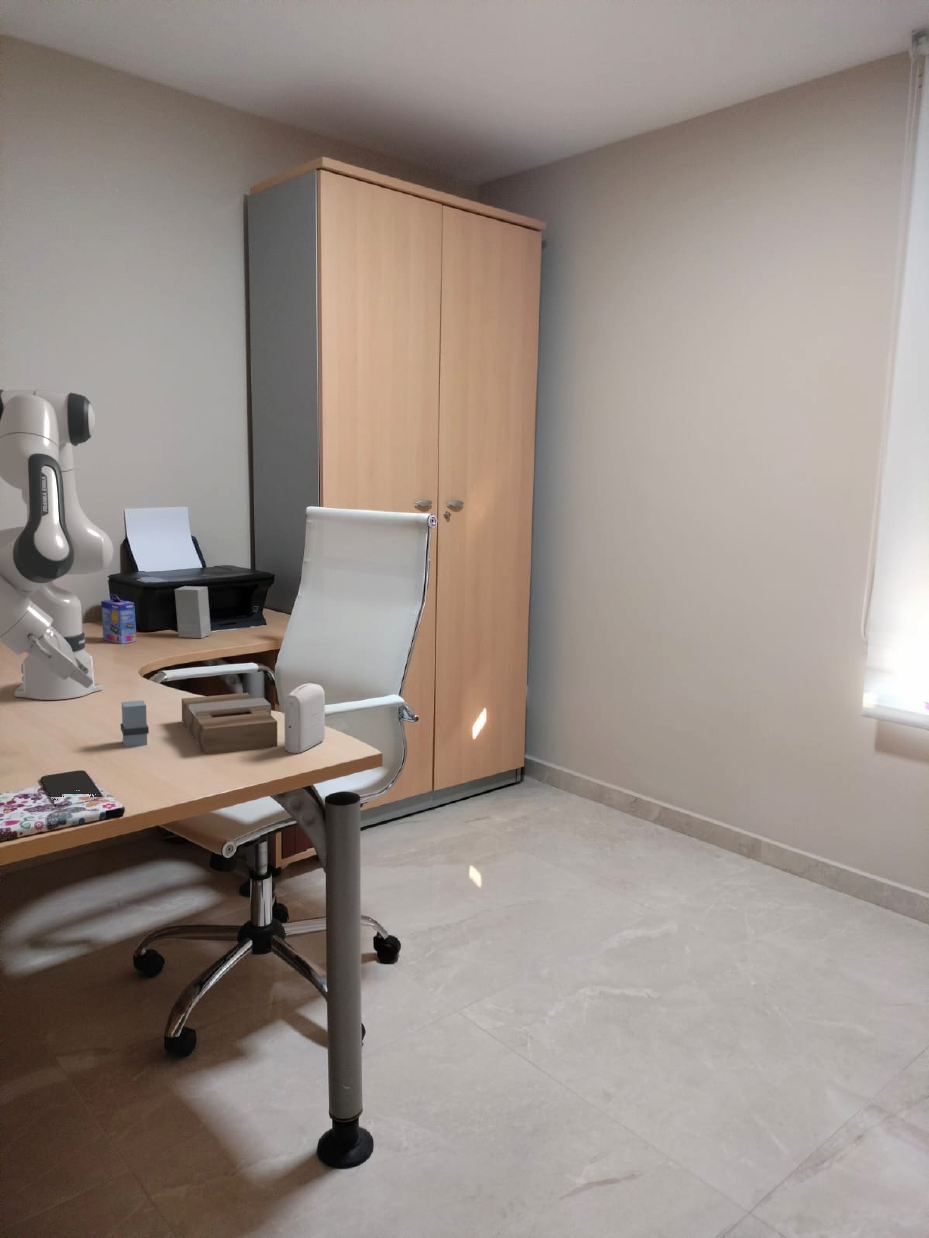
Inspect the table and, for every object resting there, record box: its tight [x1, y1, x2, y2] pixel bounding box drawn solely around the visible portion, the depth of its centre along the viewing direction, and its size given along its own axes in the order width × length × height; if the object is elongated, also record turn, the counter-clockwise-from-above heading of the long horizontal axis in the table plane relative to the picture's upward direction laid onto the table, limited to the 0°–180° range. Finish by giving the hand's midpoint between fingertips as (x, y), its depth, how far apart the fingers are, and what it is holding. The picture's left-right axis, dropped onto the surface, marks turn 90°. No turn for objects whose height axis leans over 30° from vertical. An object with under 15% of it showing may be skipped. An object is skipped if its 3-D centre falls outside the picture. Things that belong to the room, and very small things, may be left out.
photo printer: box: [283, 683, 326, 754], centre depth 177 cm, size 10×4×12 cm, turn 158°
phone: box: [40, 769, 103, 801], centre depth 151 cm, size 7×1×15 cm
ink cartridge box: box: [100, 593, 137, 645], centre depth 273 cm, size 10×6×14 cm, turn 54°
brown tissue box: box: [181, 692, 278, 755], centre depth 184 cm, size 24×14×5 cm, turn 27°
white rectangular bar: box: [189, 697, 272, 717], centre depth 184 cm, size 6×15×4 cm, turn 117°
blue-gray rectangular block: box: [120, 699, 150, 748], centre depth 176 cm, size 5×5×8 cm
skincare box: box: [174, 585, 212, 639], centre depth 283 cm, size 8×7×16 cm
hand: (88, 678), depth 171 cm, fingers open, 8 cm apart
